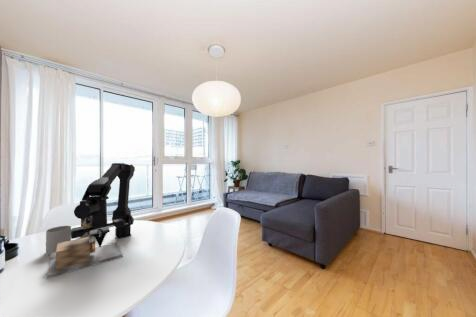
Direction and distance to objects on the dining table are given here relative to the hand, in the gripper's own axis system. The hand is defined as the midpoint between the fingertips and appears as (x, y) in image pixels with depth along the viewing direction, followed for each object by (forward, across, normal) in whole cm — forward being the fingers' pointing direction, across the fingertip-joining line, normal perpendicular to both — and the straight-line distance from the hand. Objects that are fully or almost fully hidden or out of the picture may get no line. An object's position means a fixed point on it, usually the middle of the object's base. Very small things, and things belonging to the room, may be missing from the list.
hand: (99, 247), depth 83 cm
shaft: (+1, +9, 0) cm, 9 cm away
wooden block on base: (+3, +4, 0) cm, 6 cm away
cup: (+3, +14, -18) cm, 23 cm away
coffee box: (+4, 0, -31) cm, 31 cm away
